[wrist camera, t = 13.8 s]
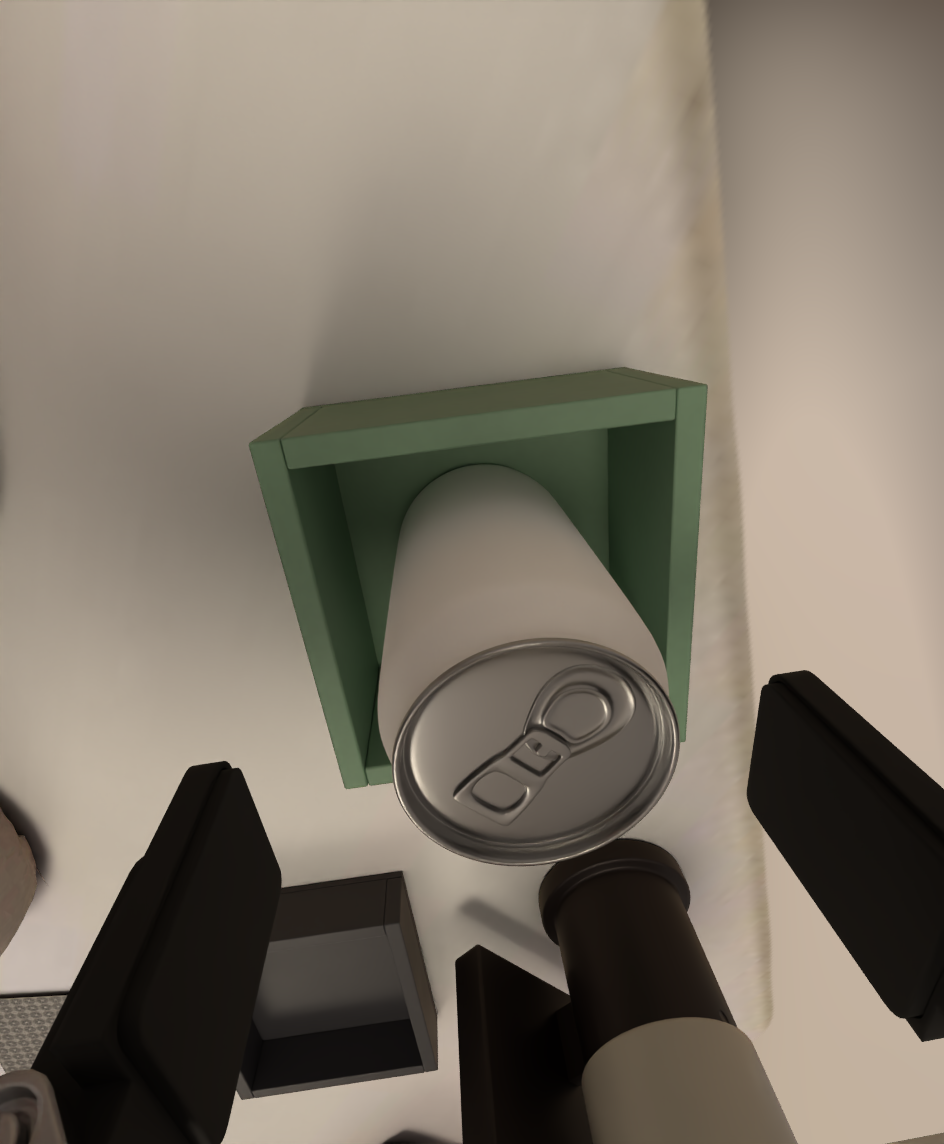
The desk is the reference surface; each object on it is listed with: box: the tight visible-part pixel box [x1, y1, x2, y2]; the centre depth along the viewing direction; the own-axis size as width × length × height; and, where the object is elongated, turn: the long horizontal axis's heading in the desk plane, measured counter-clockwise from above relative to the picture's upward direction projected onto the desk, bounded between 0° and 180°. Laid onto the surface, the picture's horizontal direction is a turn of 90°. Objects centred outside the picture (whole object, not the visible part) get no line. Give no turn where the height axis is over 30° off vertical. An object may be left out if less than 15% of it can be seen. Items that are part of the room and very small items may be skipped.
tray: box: [236, 872, 438, 1100], centre depth 31 cm, size 12×14×3 cm
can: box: [378, 464, 680, 866], centre depth 16 cm, size 6×6×12 cm
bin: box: [249, 367, 708, 789], centre depth 19 cm, size 12×12×6 cm
